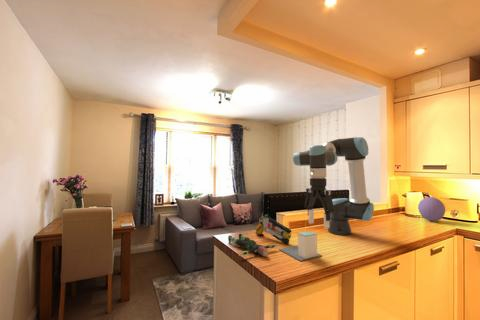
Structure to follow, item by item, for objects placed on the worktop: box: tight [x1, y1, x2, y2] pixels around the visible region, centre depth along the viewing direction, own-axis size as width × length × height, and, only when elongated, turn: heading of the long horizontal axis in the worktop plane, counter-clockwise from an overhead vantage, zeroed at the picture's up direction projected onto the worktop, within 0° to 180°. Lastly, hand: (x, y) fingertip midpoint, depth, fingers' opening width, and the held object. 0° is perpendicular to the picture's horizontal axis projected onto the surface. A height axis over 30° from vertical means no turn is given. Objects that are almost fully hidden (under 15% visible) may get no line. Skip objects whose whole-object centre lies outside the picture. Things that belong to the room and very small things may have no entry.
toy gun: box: [255, 214, 292, 245], centre depth 142 cm, size 4×26×15 cm, turn 40°
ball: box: [417, 196, 446, 222], centre depth 188 cm, size 17×17×20 cm
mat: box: [278, 244, 323, 262], centre depth 119 cm, size 14×17×1 cm
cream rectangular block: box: [297, 231, 318, 259], centre depth 115 cm, size 8×5×11 cm, turn 117°
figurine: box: [227, 233, 278, 257], centre depth 125 cm, size 26×6×30 cm
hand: (318, 225), depth 108 cm, fingers open, 9 cm apart
